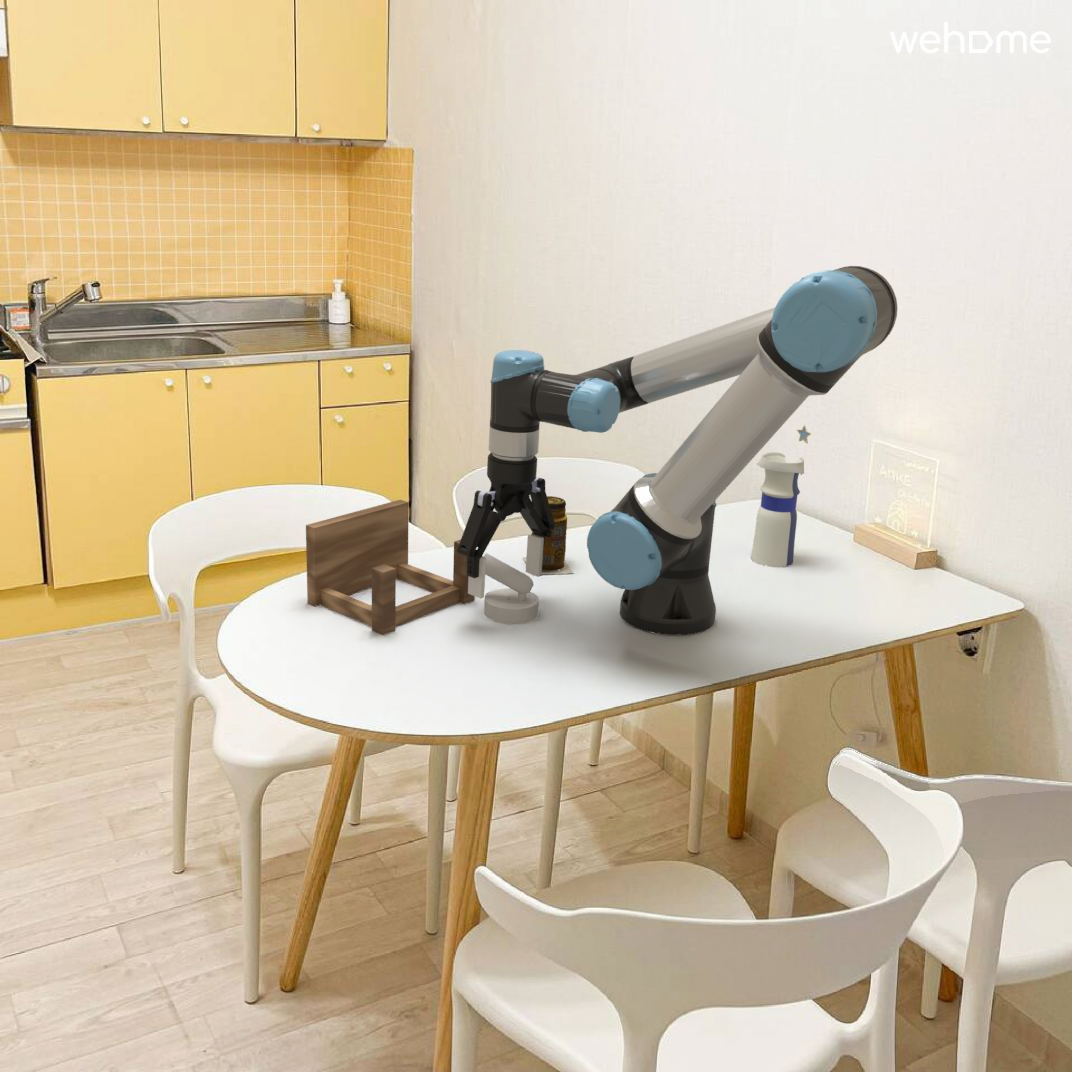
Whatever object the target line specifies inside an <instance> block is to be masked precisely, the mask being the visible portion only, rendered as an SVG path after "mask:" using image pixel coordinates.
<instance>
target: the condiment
mask: <svg viewBox="0 0 1072 1072" xmlns="http://www.w3.org/2000/svg"><path fill="white" fill-rule="evenodd" d="M547 498H548V502H549V505H550V509H551V512H552V515H553V519H554V522H555V528H554V529H553V530H550V531H551V532H552V534H551V536H550V537H549V538H548V537H545V544H544V545H545V546H544V553H543V557H542V572H541V575H567V574H574V572H573V570H572V568H571V567H570V566H569V565H568V562H566V560H565V559H566V551H567V550H566V549H567V546H566V544H567V529H568V527H567V526H568V525H567V524H568V516H567V514H566V509H567V508H566V506H567V503H566V500H565V499H564V498H561V497H559V496H553V495H552V496H551V495H549V496H548V495H547ZM545 520H546V519H545ZM531 534H534V533H533V532H532V531H531ZM526 557H527V556H526ZM526 557H522V559H523V561H524V563H525V564H526Z"/></svg>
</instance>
